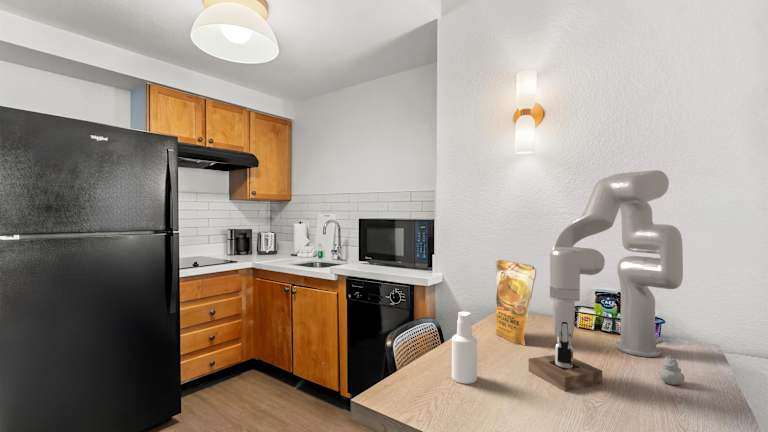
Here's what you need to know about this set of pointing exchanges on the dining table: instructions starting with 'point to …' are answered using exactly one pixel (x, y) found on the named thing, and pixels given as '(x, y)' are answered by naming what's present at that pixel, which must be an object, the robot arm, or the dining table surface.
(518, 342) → the pancake mix bag
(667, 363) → the grey swirl figurine
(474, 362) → the spray bottle
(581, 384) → the holder block
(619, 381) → the dining table surface
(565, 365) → the pill bottle
